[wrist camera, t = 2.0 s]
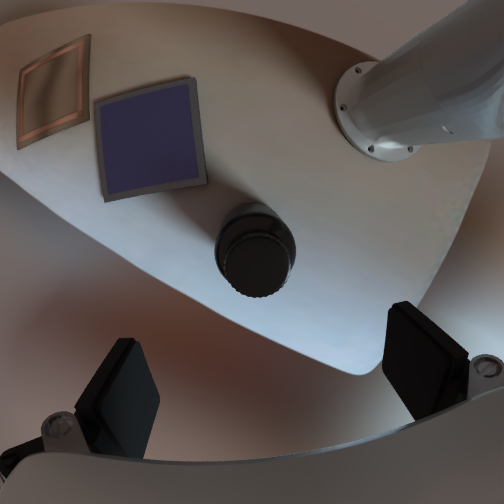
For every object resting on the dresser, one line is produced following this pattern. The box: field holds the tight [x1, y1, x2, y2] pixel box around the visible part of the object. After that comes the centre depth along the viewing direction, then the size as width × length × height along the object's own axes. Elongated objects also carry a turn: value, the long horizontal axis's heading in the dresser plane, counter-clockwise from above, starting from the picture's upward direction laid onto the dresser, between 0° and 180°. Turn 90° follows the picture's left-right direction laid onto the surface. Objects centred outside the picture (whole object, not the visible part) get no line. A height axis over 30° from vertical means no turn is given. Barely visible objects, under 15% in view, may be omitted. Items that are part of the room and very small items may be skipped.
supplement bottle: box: [214, 202, 296, 298], centre depth 26 cm, size 7×7×12 cm
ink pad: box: [95, 77, 208, 203], centre depth 28 cm, size 12×12×2 cm
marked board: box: [16, 34, 91, 150], centre depth 25 cm, size 13×13×1 cm
